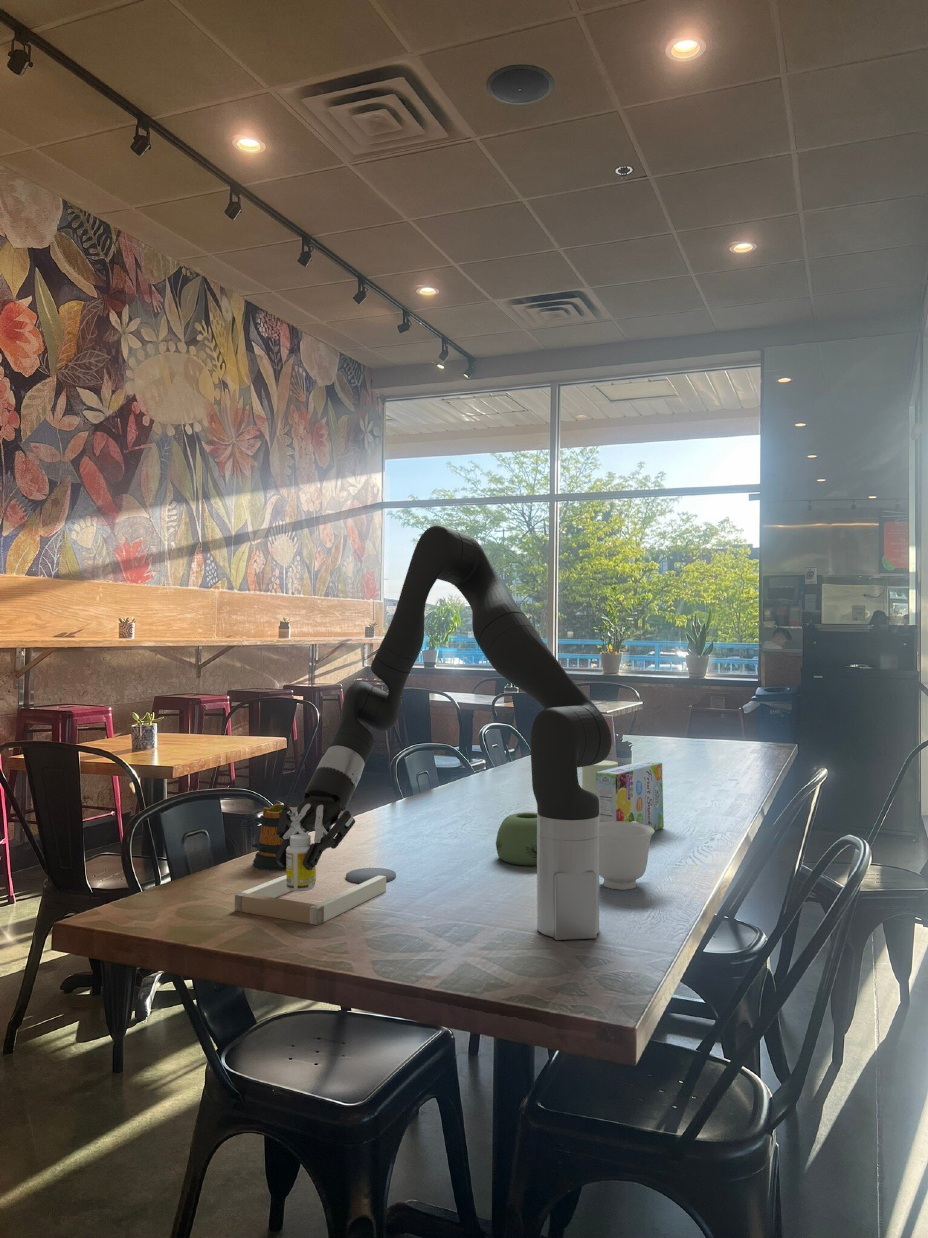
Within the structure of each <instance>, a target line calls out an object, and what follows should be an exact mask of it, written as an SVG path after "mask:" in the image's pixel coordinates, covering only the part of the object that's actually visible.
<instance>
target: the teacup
mask: <svg viewBox="0 0 928 1238" xmlns="http://www.w3.org/2000/svg"><path fill="white" fill-rule="evenodd" d="M655 832H656V830H655V831H654V829H653V828H652V827H650V826H647V825H644V824H639V823H638V822H635V821H633V822H621V821H607V822H599V877H601V878H602V879H603V883H602V884H603V886H604V887H606V888H608V889H611V890H621V891H628V890H632V889H635V888H637V880H639V879H640V878H642V877H643V875H645V873H646V869H647V865H648V859H649V851H650V844H651V839H652V836H653V834H655Z"/></svg>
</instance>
